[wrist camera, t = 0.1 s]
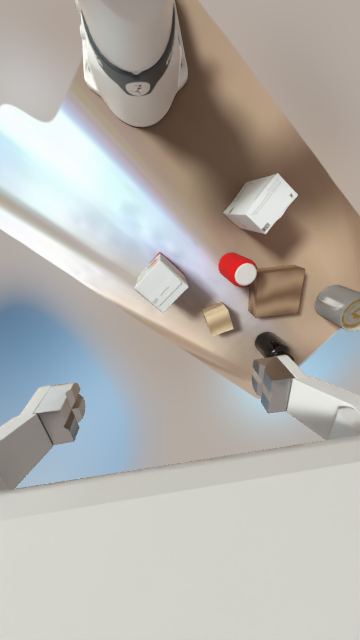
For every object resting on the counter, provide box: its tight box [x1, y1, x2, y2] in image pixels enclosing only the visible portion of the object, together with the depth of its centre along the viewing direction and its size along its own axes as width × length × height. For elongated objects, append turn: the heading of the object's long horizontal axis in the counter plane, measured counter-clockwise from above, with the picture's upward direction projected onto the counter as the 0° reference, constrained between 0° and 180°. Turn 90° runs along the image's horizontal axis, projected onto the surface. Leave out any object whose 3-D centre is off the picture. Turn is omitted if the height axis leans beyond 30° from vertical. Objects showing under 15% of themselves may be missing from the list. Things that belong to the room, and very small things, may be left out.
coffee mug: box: [315, 285, 360, 331], centre depth 59 cm, size 13×10×10 cm
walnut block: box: [248, 265, 305, 318], centre depth 58 cm, size 12×12×5 cm
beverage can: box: [219, 253, 257, 287], centre depth 51 cm, size 6×6×12 cm
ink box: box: [134, 252, 188, 313], centre depth 51 cm, size 9×9×12 cm
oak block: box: [202, 302, 233, 336], centre depth 60 cm, size 6×6×6 cm
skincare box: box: [223, 173, 298, 234], centre depth 44 cm, size 8×6×15 cm
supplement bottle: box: [255, 332, 294, 362], centre depth 63 cm, size 7×7×12 cm
